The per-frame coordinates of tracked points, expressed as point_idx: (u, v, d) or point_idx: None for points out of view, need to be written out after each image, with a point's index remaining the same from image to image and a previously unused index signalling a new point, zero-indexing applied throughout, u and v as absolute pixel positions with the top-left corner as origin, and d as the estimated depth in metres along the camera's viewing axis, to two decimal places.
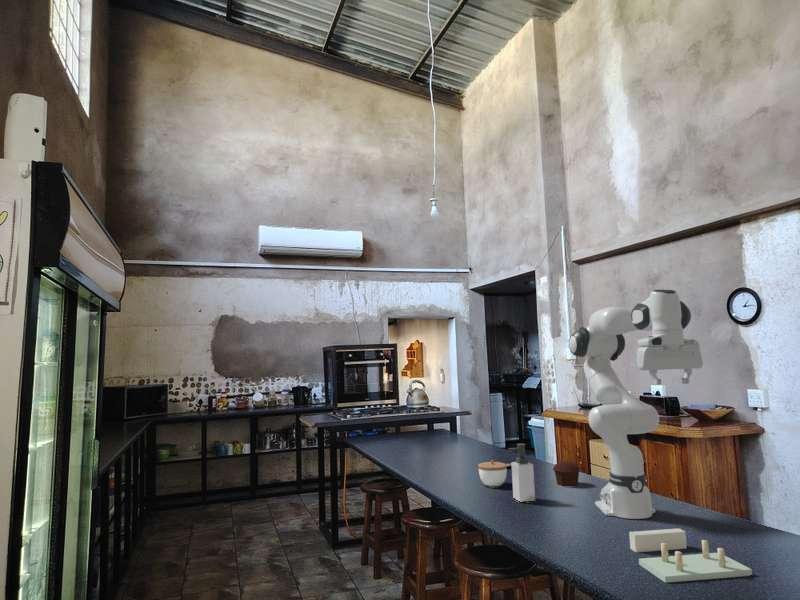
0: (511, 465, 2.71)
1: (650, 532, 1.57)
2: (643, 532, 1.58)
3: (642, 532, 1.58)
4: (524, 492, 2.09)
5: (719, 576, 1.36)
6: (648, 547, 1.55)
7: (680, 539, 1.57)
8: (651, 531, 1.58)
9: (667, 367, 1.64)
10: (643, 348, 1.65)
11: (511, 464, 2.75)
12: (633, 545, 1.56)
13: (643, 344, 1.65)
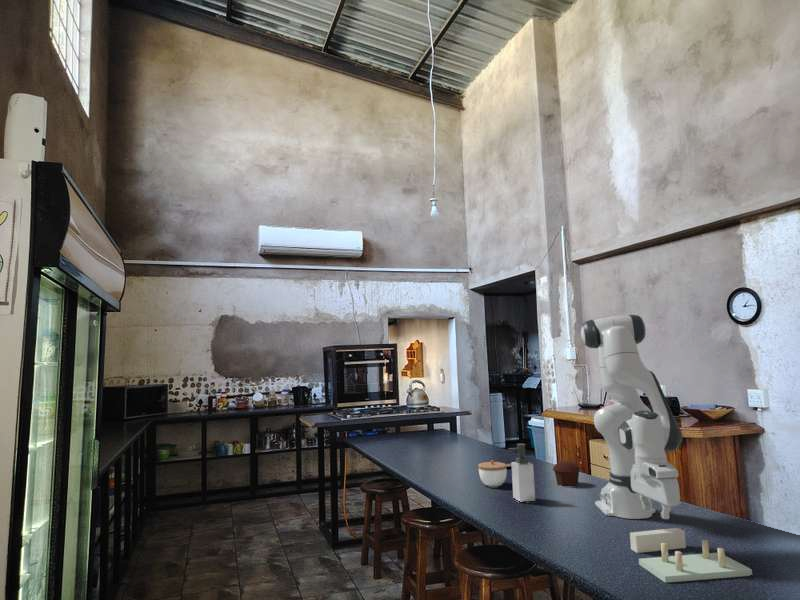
0: (511, 465, 2.70)
1: (650, 532, 1.57)
2: (643, 532, 1.57)
3: (642, 532, 1.57)
4: (524, 492, 2.09)
5: (719, 576, 1.36)
6: (648, 547, 1.55)
7: (680, 538, 1.57)
8: (651, 531, 1.58)
9: None
10: (672, 480, 1.51)
11: (511, 464, 2.75)
12: (634, 546, 1.56)
13: (670, 476, 1.51)
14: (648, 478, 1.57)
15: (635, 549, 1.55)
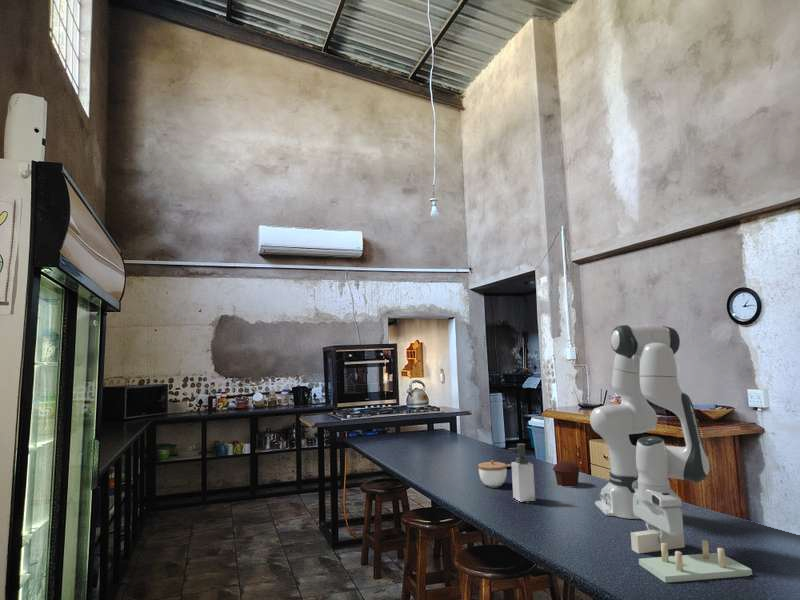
0: (511, 465, 2.70)
1: (651, 532, 1.57)
2: (644, 532, 1.57)
3: (643, 532, 1.57)
4: (524, 492, 2.09)
5: (719, 576, 1.36)
6: (649, 547, 1.55)
7: (679, 537, 1.58)
8: (651, 531, 1.58)
9: None
10: (675, 509, 1.50)
11: None
12: (635, 546, 1.55)
13: (674, 505, 1.50)
14: (651, 505, 1.56)
15: (636, 549, 1.55)
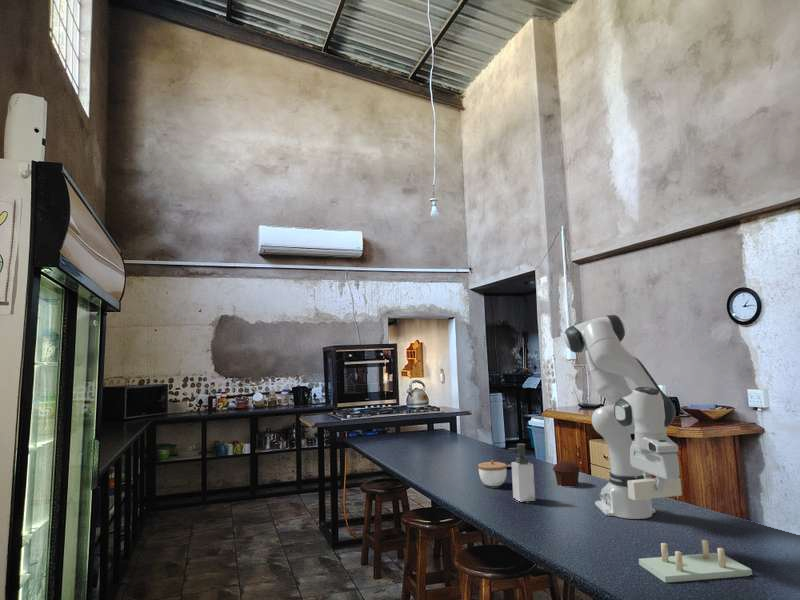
0: (511, 466, 2.69)
1: (647, 480, 1.58)
2: (641, 480, 1.58)
3: (640, 480, 1.58)
4: (524, 492, 2.09)
5: (719, 576, 1.36)
6: (646, 494, 1.56)
7: (676, 485, 1.58)
8: (648, 479, 1.59)
9: None
10: (672, 455, 1.51)
11: None
12: (632, 493, 1.56)
13: (670, 450, 1.51)
14: (648, 453, 1.57)
15: (633, 496, 1.56)
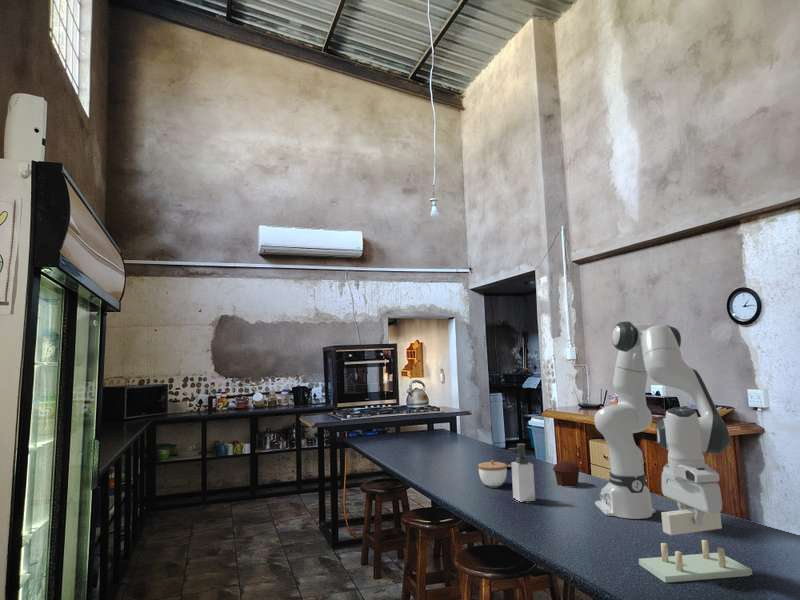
0: (511, 466, 2.69)
1: (684, 511, 1.42)
2: (676, 512, 1.42)
3: (675, 512, 1.42)
4: (524, 492, 2.09)
5: (719, 576, 1.36)
6: (683, 528, 1.40)
7: (715, 517, 1.43)
8: (684, 510, 1.43)
9: None
10: (713, 485, 1.35)
11: None
12: (667, 527, 1.40)
13: (711, 480, 1.35)
14: (684, 482, 1.41)
15: (668, 530, 1.40)
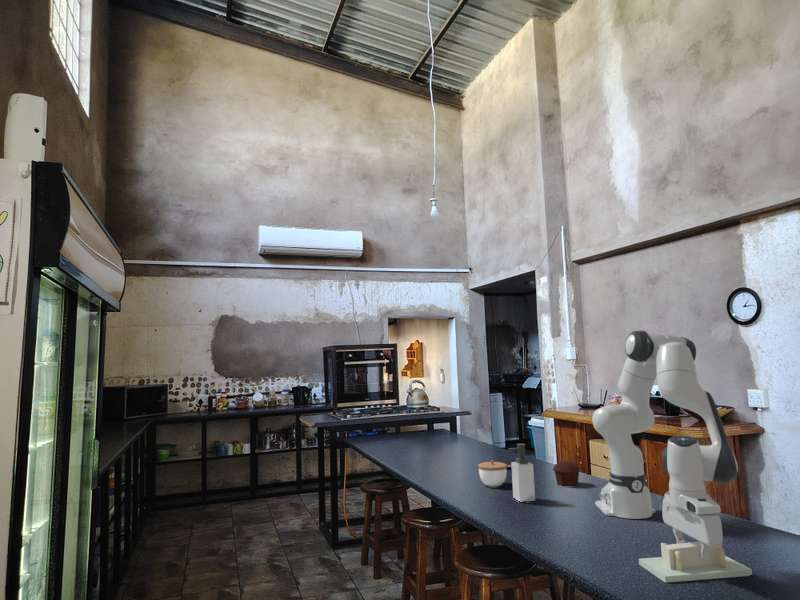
0: (510, 466, 2.68)
1: (684, 545, 1.42)
2: (677, 545, 1.42)
3: (675, 545, 1.42)
4: (524, 492, 2.09)
5: (719, 576, 1.36)
6: (683, 562, 1.39)
7: (717, 552, 1.42)
8: (685, 544, 1.42)
9: None
10: (714, 517, 1.34)
11: None
12: (667, 560, 1.40)
13: (712, 512, 1.35)
14: (685, 512, 1.41)
15: (668, 564, 1.39)
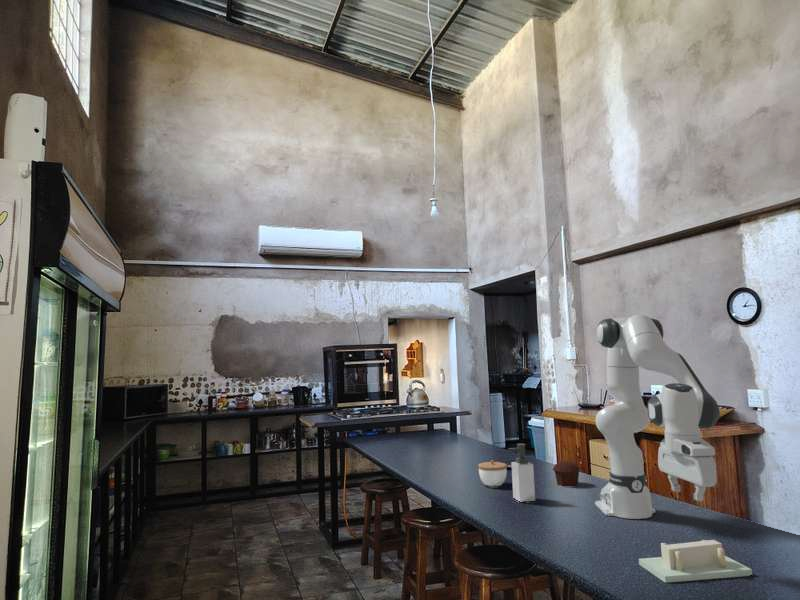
0: (510, 466, 2.68)
1: (684, 545, 1.42)
2: (677, 545, 1.42)
3: (675, 545, 1.42)
4: (524, 492, 2.09)
5: (719, 576, 1.36)
6: (683, 562, 1.39)
7: (717, 552, 1.42)
8: (685, 544, 1.42)
9: None
10: (708, 459, 1.36)
11: None
12: (667, 560, 1.40)
13: (706, 454, 1.36)
14: (680, 456, 1.43)
15: (668, 564, 1.39)
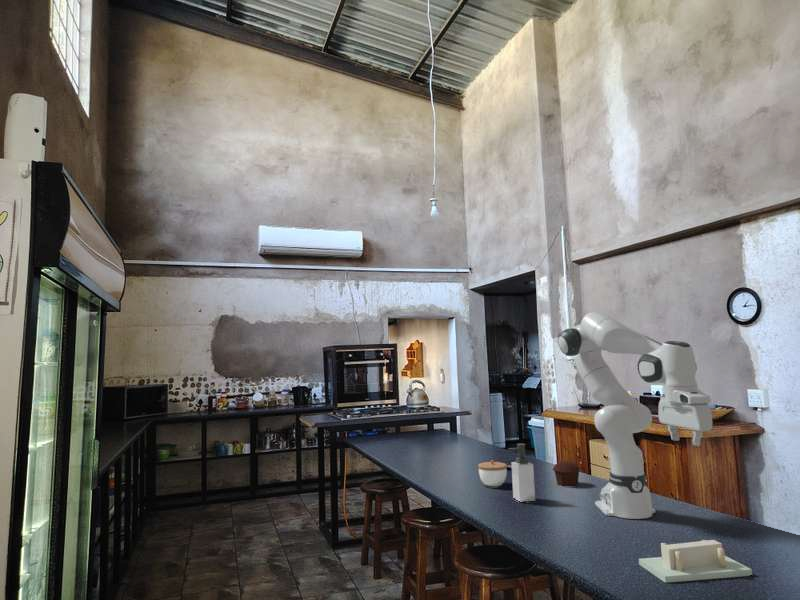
0: None
1: (684, 545, 1.42)
2: (677, 545, 1.42)
3: (675, 545, 1.42)
4: (524, 492, 2.09)
5: (719, 576, 1.36)
6: (683, 562, 1.39)
7: (717, 552, 1.42)
8: (685, 544, 1.42)
9: None
10: (704, 406, 1.49)
11: None
12: (667, 560, 1.40)
13: (703, 401, 1.49)
14: (679, 406, 1.55)
15: (668, 564, 1.39)
